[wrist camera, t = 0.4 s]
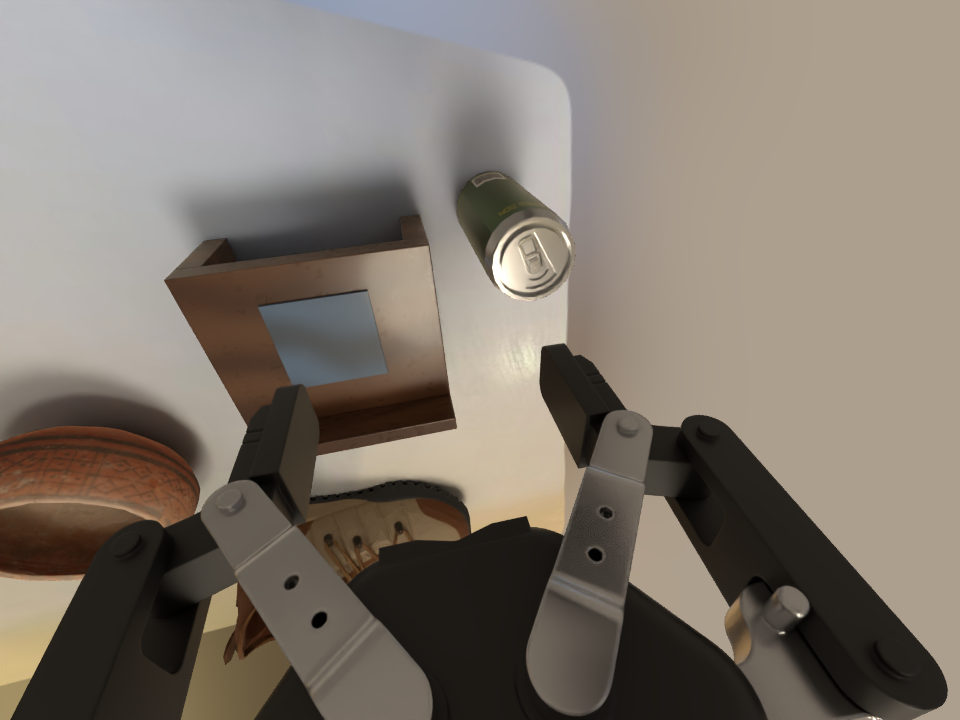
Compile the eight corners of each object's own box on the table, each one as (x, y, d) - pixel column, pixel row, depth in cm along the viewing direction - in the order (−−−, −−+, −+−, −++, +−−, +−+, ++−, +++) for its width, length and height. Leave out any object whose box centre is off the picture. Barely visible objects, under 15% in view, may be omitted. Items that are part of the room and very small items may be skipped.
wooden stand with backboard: (203, 240, 30) (139, 303, 22) (420, 214, 32) (434, 262, 24) (273, 386, 38) (245, 469, 30) (441, 357, 40) (457, 428, 32)
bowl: (138, 524, 45) (86, 622, 37) (-36, 450, 35) (-156, 561, 27) (248, 459, 42) (218, 548, 34) (93, 362, 33) (3, 454, 25)
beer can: (443, 188, 31) (473, 240, 21) (507, 156, 31) (567, 195, 21) (470, 249, 34) (506, 318, 25) (528, 221, 34) (588, 280, 24)
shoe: (461, 525, 57) (480, 643, 45) (247, 542, 51) (203, 684, 39) (470, 477, 51) (495, 596, 39) (231, 489, 45) (174, 635, 33)
